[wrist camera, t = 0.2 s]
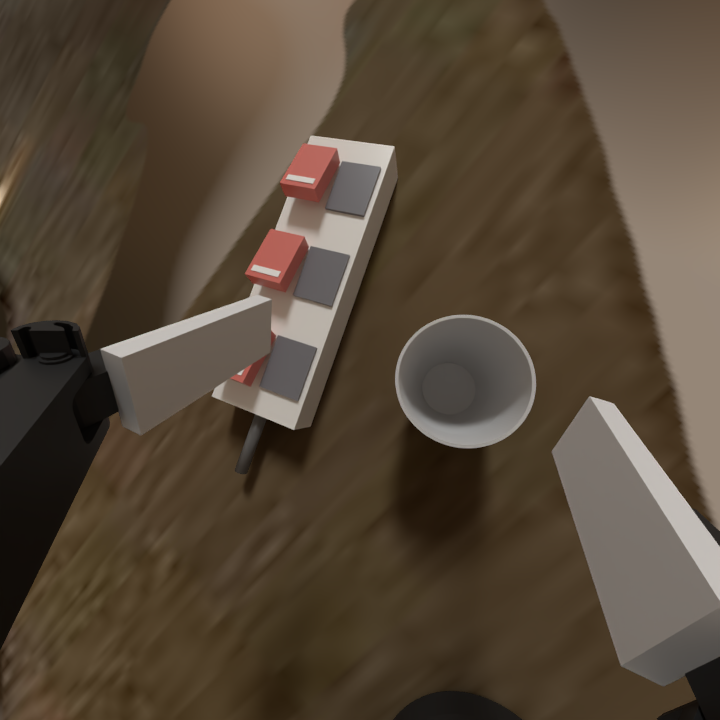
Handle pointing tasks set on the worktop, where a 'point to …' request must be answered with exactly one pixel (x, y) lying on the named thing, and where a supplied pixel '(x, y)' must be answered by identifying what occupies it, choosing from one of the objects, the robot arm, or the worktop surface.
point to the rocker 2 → (277, 260)
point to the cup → (465, 381)
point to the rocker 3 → (310, 172)
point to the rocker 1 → (250, 370)
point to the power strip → (316, 289)
